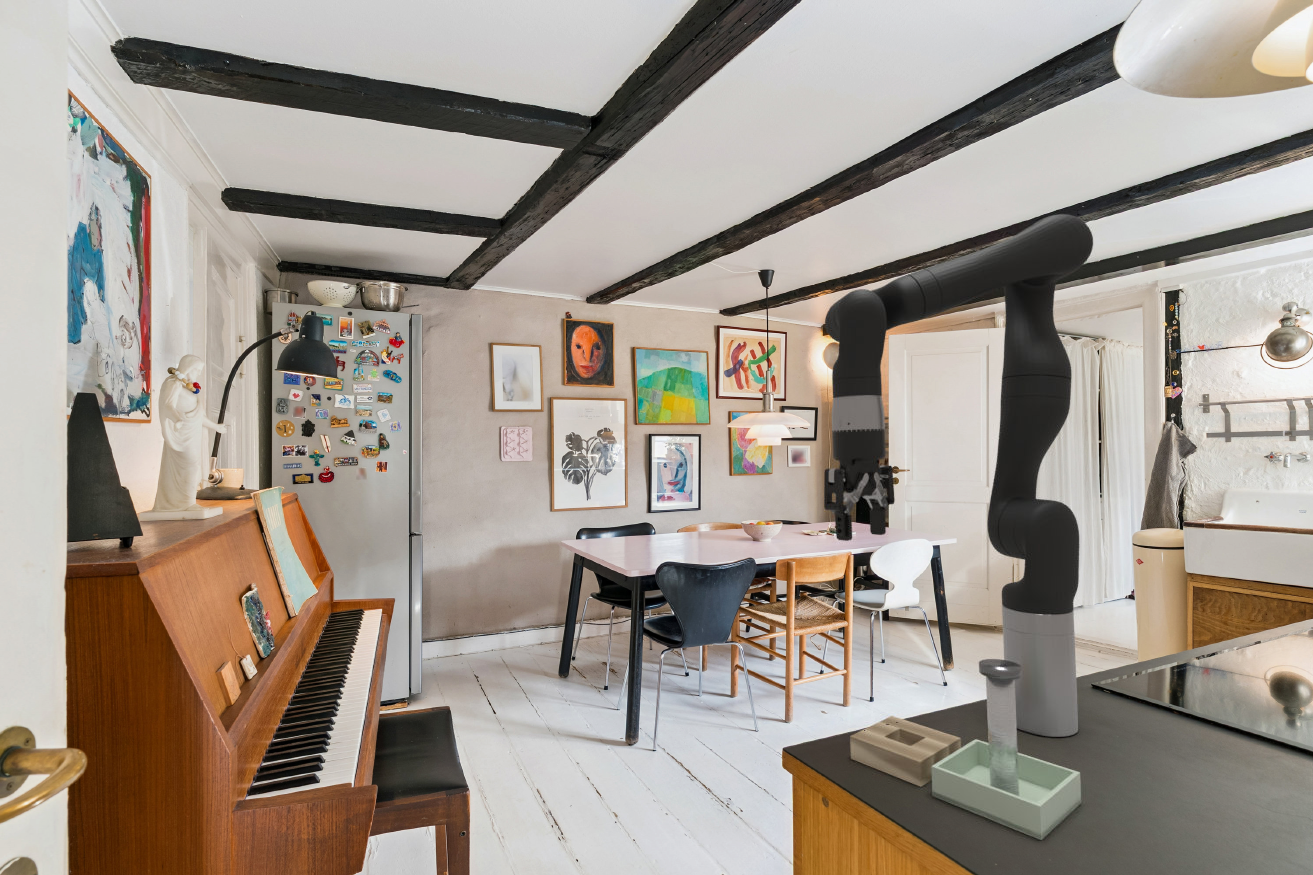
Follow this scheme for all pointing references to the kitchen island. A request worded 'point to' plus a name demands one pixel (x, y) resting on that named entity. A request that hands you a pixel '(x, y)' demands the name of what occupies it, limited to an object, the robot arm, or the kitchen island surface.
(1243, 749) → the kitchen island surface
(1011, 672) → the steel pin
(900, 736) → the socket block
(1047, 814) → the green tray
